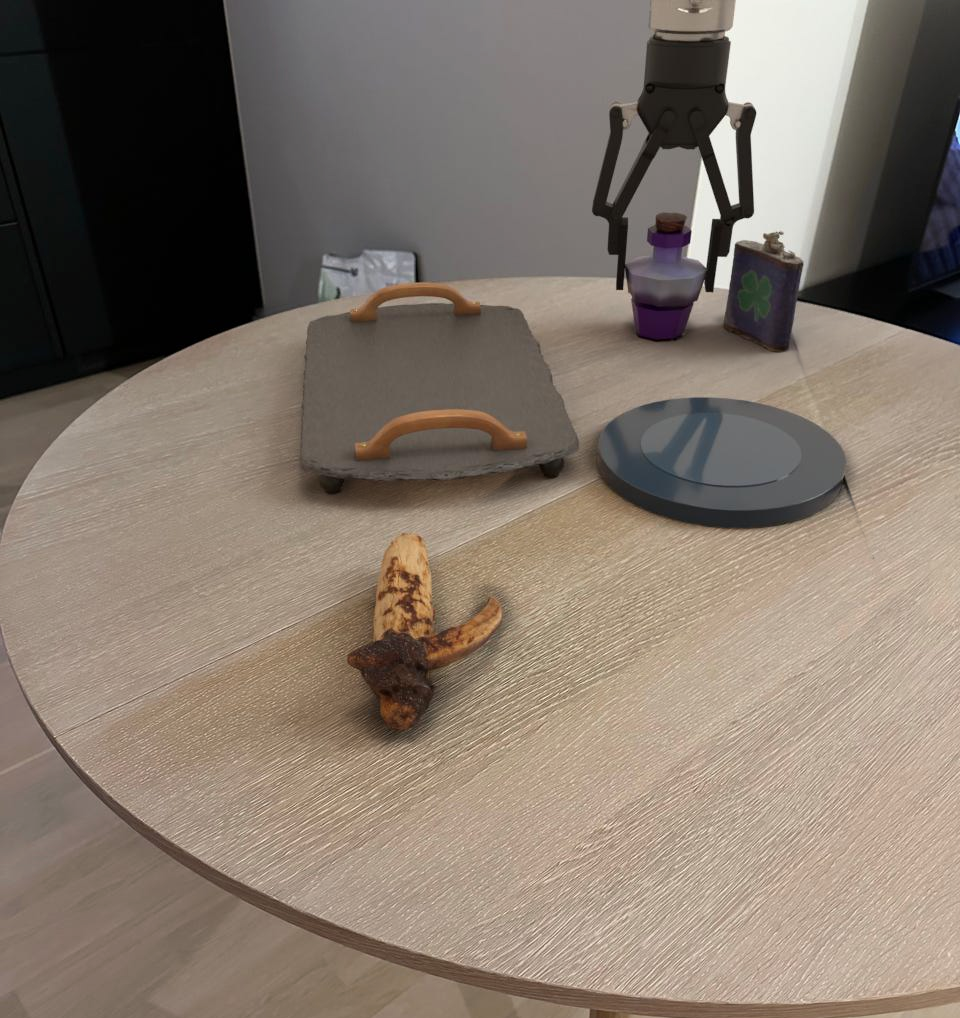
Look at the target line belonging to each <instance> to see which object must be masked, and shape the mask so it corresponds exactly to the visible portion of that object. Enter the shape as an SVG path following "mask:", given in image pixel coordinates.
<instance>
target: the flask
mask: <svg viewBox="0 0 960 1018" xmlns="http://www.w3.org/2000/svg"><path fill="white" fill-rule="evenodd" d="M784 234H785V232H784V231H781V230H780V231H775V232H769V233H765V232H764V233H762V238H763V239H764V240H765V241H764V243H762V242H761V243H760V242H758V241H754V240H747V239H742V240H738V241H736V242H735V243H734V248H733V259H732V266H731V272H730V281H729V284H728V285H729V287H728V294H727V300H726V305H725V312H724V317H723V327H724V328H725V329H726V330H728V331H729V332H730V333H732V332H733V333H735V334H738V336H740V337H742V338H743V339H746V340H751V341H754V343H756V344H759V345H760V346H761V347H764V348H766V349H767V350H769V351H773V352H779V353H783V352H787V351H788V350H790V345H791V344H790V343H791V338H792V332H793V331H792V330H793V325H794V322H795V313H796V307H797V301H798V297H799V290H800V285H801V279H802V273H803V268H804V264H805V263H804V260H803V259H802V257H799V256H796V253H795V252H794V251H792V250H789V249H788V251H785V247H786V245H785V244H784V242H781V241H779V239H780V236H782V235H783V236H784Z"/></svg>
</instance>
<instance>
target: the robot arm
mask: <svg viewBox="0 0 960 1018" xmlns="http://www.w3.org/2000/svg"><path fill="white" fill-rule="evenodd" d="M649 1H650V2H649V13H648V24H647V25H648V28H649V29H650V30H651V31H652V32H654V33H653V34H652V36H650V37H649V40H647V41H646V49H645V50H646V51H645V65H644V66H645V67H644V78H643V89H642V91H641V94H640V95H639V97H638V99H637V101H633V102H627V103H621V102H618V101H615V102H612V103H611V104H610V106H609V112H608V114H609V115H608V117H609V118H608V119H609V135H608V139H607V144H606V148H605V151H604V155H603V160H602V164H601V167H600V171H599V176H598V180H597V184H596V188H595V191H594V196H593V201H592V207H591V213H592V214H593V216H594V217H600V218H603V219H605V220H606V221H607V223H608V231H607V232H608V235H607V248H606V249H607V253H608V256H617V265H616V278H615V279H616V280H615V291H624V286H625V285H624V284H625V274H626V272H625V264H626V259H627V248H628V247H627V246H628V245H627V244H628V233H629V232H628V231H629V217H624V215H625V214H626V211H627V209H628V207H629V206H630V204H631V202H632V200H633V198H634V196H635V194H636V192H637V190H638V188H639V186H640V185H641V182H642V181H643V179H644V177H645V176H646V174H647V171H648V170H649V168H650V165H651V164H652V162H653V160H654V158H655V157H656V156H657V154H658V152H659V150H660V148H661V149H662V150H673V149H676V148H681V149H684V150H696V148H698V150H699V153H700V156H701V157H700V158H701V159H702V160H701V161H702V162H703V166H704V169H705V172H706V175H707V179H708V181H709V185H710V187H711V191H712V193H713V197H714V199H715V200H714V201H715V203H716V206H717V209H718V213H719V217H720V218H712V219H711V224H710V225H711V226H710V234H709V243H708V249H707V250H708V251H707V257H706V258H707V259H706V265H705V267H706V268H707V269H708V272H707V274H706V277H705V280H704V283H703V286H704V291H705V293H714V288H715V283H716V275H717V266H718V259H719V258H727V257H728V255H729V254H730V252H731V251H730V250H731V244H732V243H731V242H732V236H733V228H734V226H735V224H736V223H737V222H739V221H741V220H743V219H744V220H745V219H751V218H752V217H753V216H754V214H755V198H754V197H755V196H754V175H753V174H754V173H753V156H752V155H753V154H752V153H753V151H752V136H751V135H752V131H753V128H754V125H755V122H756V117H757V110H756V108H755V106H754V104H753V103H752V102H744V103H737V102H731V101H729V100H728V97H727V94H726V84H727V77H728V68H729V61H730V53H731V45H732V44H731V43H732V42H731V40H730V38H729V37H728V36H726V32H728V31H730V30H731V29H732V28H733V26H734V18H735V10H736V0H649ZM636 116H638V117H639V119H640V121H641V123H642V124H643V126H644V128H645V129H646V131H647V135H646V138H645V139H644V141H643V143H642V146H641V148H640V150H639V152H638V154H637V155H636V158H635V160H634V161H633V163H632V165H631V167H630V169H629V171H628V173H627V175H626V177H625V179H624V181H623V183H622V185H621V187H620V189H619V190H618V193H617V195H616V197H615V199H614V200H613V203H611V202H609V201H607V200H608V197H609V193H610V189H611V185H612V181H613V177H614V173H615V169H616V166H617V162H618V158H619V154H620V150H621V146H622V143H623V137H624V131H626V130H628V129H629V128H630V127H631V125H632V121H633V119H634V117H636ZM725 117H728V118H729V124H730V126H731V129H732V130H734V131H735V152H736V153H735V154H736V169H737V170H736V171H737V186H738V187H737V188H738V190H737V191H738V203H735V204H731V201H730V198H729V194H728V192H727V188H726V186H725V183H724V179H723V175H722V173H721V168H720V166H719V163H718V159H717V156H716V153H715V150H714V146H713V144H712V140H711V137H710V136H711V135H712V133H713V132H714V130H715V129H716V128H717V127H718V126H719V124H720V123H721V122H722V120H723V119H724V118H725Z"/></svg>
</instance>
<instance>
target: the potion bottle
mask: <svg viewBox="0 0 960 1018" xmlns="http://www.w3.org/2000/svg"><path fill="white" fill-rule="evenodd" d="M687 219H688V216H687V215H685V214H684V213H679V212H664V211H663V212H659V213H657V214H656V215H655V224H654V225H651V226H649V227H648V228H647V233H646V234H647V236H646V242H647V243H648V244H649V245H650V246H652V247H653V249H652V255H641V256H639V257H637V258H634V259H633V260H631V261H629V262H627V263H625V279H626V287H627V293H628V294H630V295H631V298H630V301H631V309H632V316H633V317H632V318H633V323H634V329H633V332H634V333H635V334H636V336H637V337H638V339H639V338H640V339H643V340H646V341H647V340H648V341H652V342H655V343H658V342H660V343H661V342H673V341H678V340H679V339H681V338H682V337H684V336H685V335H686V333H685V330H686V328H687V325H688V322H689V319H690V316H691V314H692V310H693V308H694V303H695V302H698V300H699V297H700V295H701V291H702V289H703V286H704V281H705V277H706V274H707V272H708V269H707V268H706V265H704V264H703V263H702V262H701V261H700V260H699V259H694V258H689V257H686V256H682V254H683V248H684V247H686V246H688V245H690V244H691V241H692V240H691V239H692V229H691V228H690V227H689V226H687V225H685V224H686V221H687Z"/></svg>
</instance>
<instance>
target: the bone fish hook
mask: <svg viewBox="0 0 960 1018" xmlns="http://www.w3.org/2000/svg"><path fill="white" fill-rule="evenodd" d="M390 542H391V543H390V545H389V546H387V548H386V550H385V551H384V553H383V558H382V561H381V563H380V571H379V574H380V575H379V577H378V581H377V584H376V593H375V606H374V612H373V620H372V625H373V640H372V643H371V644H365V645H362V646H360V647H358V648H357V649H355V650H352V651H351V652H349V653H348V654H347V657H346V659H347V660H346V662H347V665H348V666H350V667H352V668H354V669H356V670H358V671H360V675H361V676H362V678H363V680H364V682H365V683H366V685H368V687H369V688H370V690H371V691H372V693H373V694H374V696H375V698H377V699H378V700H380V706H379V711H380V715H381V717H382V719H383V720H384V722H385V724H386V725H387V726H388V727H390V728H392V729H396V730H405V729H413V728H415V727H416V726H417V725H418V724H419V723H420V721H421V717H422V716H423V715H425V714H426V712H427V711H428V710H429V708H430V704H431V702H432V700H433V698H434V694H435V691H436V688H437V686H436V684H433V680H432V678H430V673H431V671H432V670H437V669H442V668H444V667H447V666H449V665H451V664H453V663H457V662H458V661H461V660H463V659H465V658H467V657H468V656H470V655H473V653H475V652H476V651H477V650H479V649H480V648H481V647H483V646H484V645H485V644H486V643H487V642H488V641H489V640H490V638H491V637H492V636H493V635H494V634H495V633H496V632H497V630H498V629H499V627H500V625H501V624H502V620H503V615H504V614H503V613H504V612H503V609H502V605H501V604H500V601H498V600H497V598H496V597H495V596H493V595H490V596H488V599H487V602H486V605H485V606H484V608H483V609H482V610H481V611H480V612H478V613H477V614H476V615H475V616H473V617H472V618H471V619H469V620H468V621H465V622H464V623H462V624H460V625H457V626H450V627H448V628H446V629H443V630H441V631H439V632H435V633H434V631H435V625H434V619H435V616H436V611H435V608H434V604H433V595H432V593H433V592H432V591H433V590H432V589H433V583H432V582H433V581H432V578H433V577H432V573H431V569H430V564H429V563H430V562H429V555H428V549H427V548H426V544H425V540H424V539H423V537H421V536H420V535H419V534H417V533H407V532H403V533H401V534H400V535H398V536H396V537H394V539H392V541H390Z"/></svg>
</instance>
